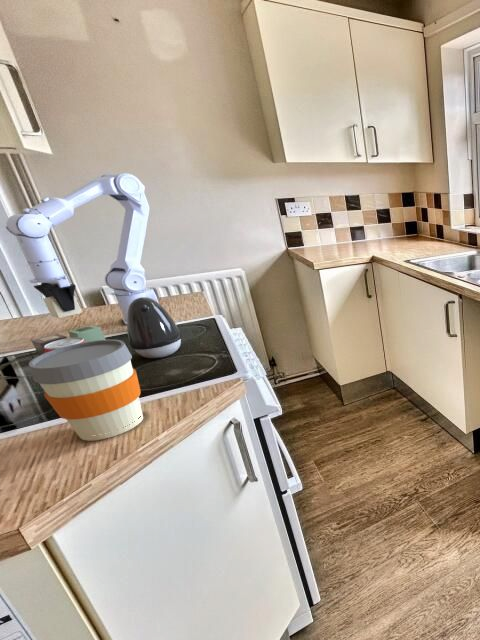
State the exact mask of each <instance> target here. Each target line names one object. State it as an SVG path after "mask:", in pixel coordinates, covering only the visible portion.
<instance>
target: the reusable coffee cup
mask: <svg viewBox="0 0 480 640" xmlns="http://www.w3.org/2000/svg"><path fill="white" fill-rule="evenodd" d="M132 359H133V356H132V353H131V352H130V350H129V348H128V347H127V345H126V343H125V342H124V340H120V339H106V340H96V341H89V342H83V343H78V344H74V345H69V346H66V347H62V348H59V349H55V350H52V351H49V352H47V353H44V354H42V355H40V356H39V355H38V356H35V357H33V358H32V359H31V360H30V361H29V362H28V368H29V371H30V373H31V376H32V379H33V382H35V383H36V384H39V385H40V387H41V388H42V389H43V391H44V393H43V395H44V396H43V397H44V398H45V399H46V400H47V401H48V403H49V404H50V406H51V407H52V408H53V409H54V411H55V412H56V413H57V415H58V417H60V418H61V419H64V420H66V421H67V422H68V424H69V426H70V427H71V428H72V429H73V430H74V433H76V434H77V436H78V437H79V438H80V439H81V440H83V441H87V442H88V441H91V442H92V441H100V440H105V439H109V438H112V437H115V436H119V435H121V434H124V433H126V432H128V431H130V430H132V429H134V428H135V427H137V426H138V425H140V424H141V422H142V421H143V419H144V414H143V410H142V405H141V401H140V396H141V387H140V383H139V379H138V378H139V377H138V373H137V370H136V369H135V368H134V367H133V364H132V361H131V360H132ZM140 416H141V417H140ZM139 417H140V418H139ZM138 418H139V419H138ZM134 421H135V422H134ZM132 422H133V423H132ZM129 424H130V425H129ZM127 425H128V426H127ZM125 426H126V427H125ZM122 427H124V428H122ZM117 429H119V430H117ZM115 430H116V431H115ZM112 431H113V432H112ZM109 432H110V433H109ZM105 433H106V434H105ZM99 434H102V435H99ZM80 435H82V436H80ZM92 435H96V436H92Z"/></svg>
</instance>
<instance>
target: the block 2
mask: <svg viewBox="0 0 480 640" xmlns="http://www.w3.org/2000/svg"><path fill="white" fill-rule="evenodd" d="M66 338H68V337H67V335H64V334H61V333H54V334H50V335H47V336H46V335H45V336H43V337H39V338H35V339H31V343H32V345H33V347H34V349H35V351H36V354H37V355H38V356H40V355H42V354H44V352H45V348H44V346H45V345H46V344H48V343H51V342H54V341H57V340H61V339H66Z"/></svg>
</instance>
